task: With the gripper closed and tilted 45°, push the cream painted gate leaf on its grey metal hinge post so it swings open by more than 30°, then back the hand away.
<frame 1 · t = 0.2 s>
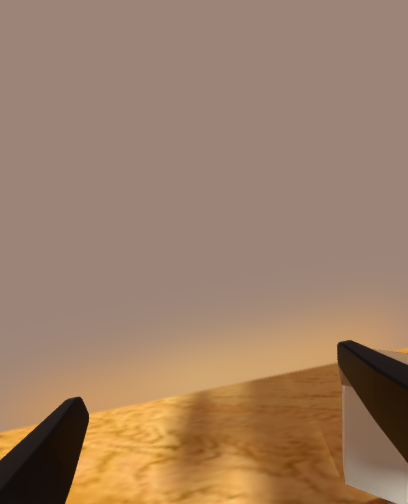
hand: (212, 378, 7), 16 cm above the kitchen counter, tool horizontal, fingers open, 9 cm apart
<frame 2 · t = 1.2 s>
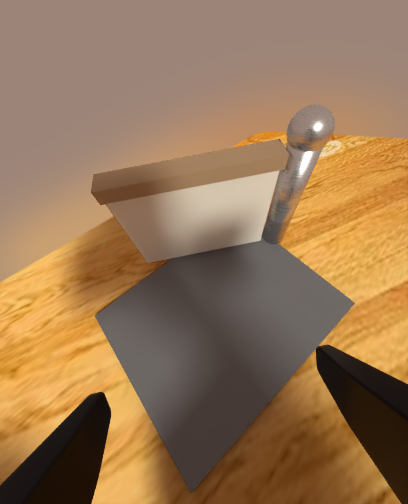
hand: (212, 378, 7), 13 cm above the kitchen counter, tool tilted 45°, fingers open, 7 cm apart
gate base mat: (220, 310, 21), on the kitchen counter
gate leaf: (197, 216, 19), point 6 cm above the kitchen counter, hinge at 0.0°
gate post: (271, 237, 24), on the kitchen counter
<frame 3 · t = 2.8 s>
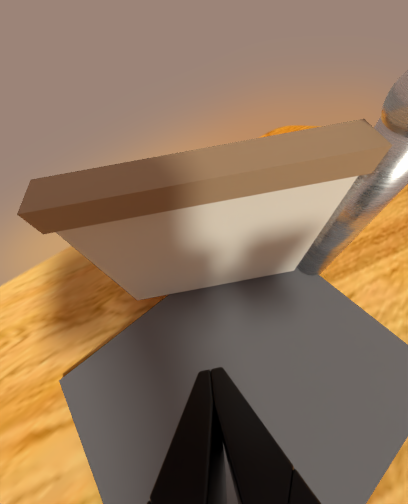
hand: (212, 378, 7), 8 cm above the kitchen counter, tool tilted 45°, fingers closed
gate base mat: (240, 377, 14), on the kitchen counter
gate leaf: (210, 242, 12), point 6 cm above the kitchen counter, hinge at 0.0°
gate post: (307, 264, 18), on the kitchen counter
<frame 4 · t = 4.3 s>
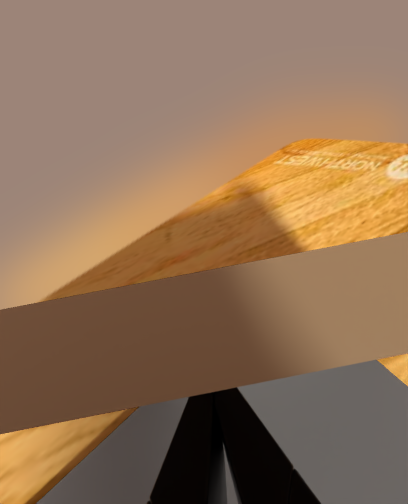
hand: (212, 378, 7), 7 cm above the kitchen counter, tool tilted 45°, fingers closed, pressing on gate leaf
gate leaf: (230, 349, 8), point 6 cm above the kitchen counter, hinge at -0.6°, touching gripper
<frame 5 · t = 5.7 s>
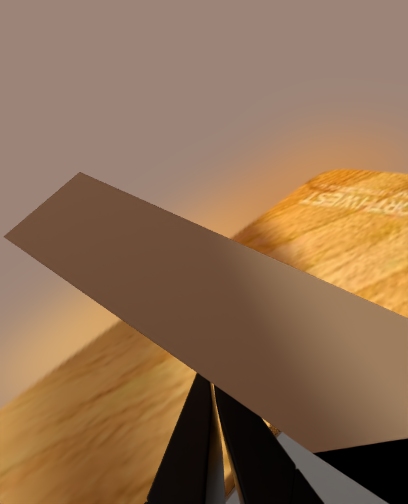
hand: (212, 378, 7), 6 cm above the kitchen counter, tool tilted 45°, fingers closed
gate leaf: (299, 389, 7), point 6 cm above the kitchen counter, hinge at -41.5°, touching gripper
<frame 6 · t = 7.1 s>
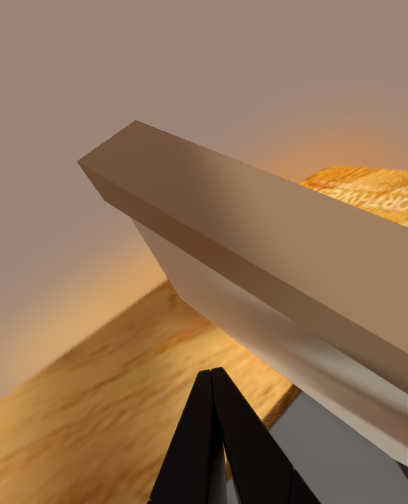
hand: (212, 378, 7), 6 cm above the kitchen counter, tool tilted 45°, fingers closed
gate leaf: (304, 346, 7), point 6 cm above the kitchen counter, hinge at -47.0°
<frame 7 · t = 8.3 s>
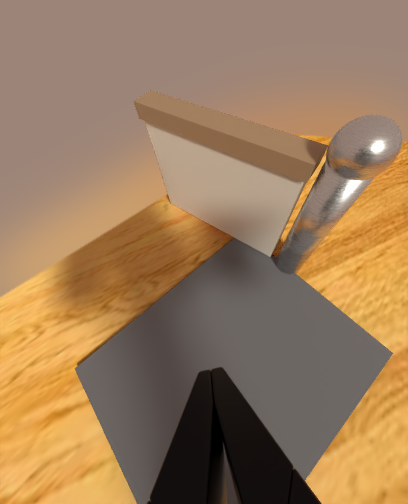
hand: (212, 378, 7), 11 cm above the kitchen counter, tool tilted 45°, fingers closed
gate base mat: (228, 361, 17), on the kitchen counter
gate leaf: (217, 185, 18), point 6 cm above the kitchen counter, hinge at -47.0°
gate post: (286, 264, 21), on the kitchen counter
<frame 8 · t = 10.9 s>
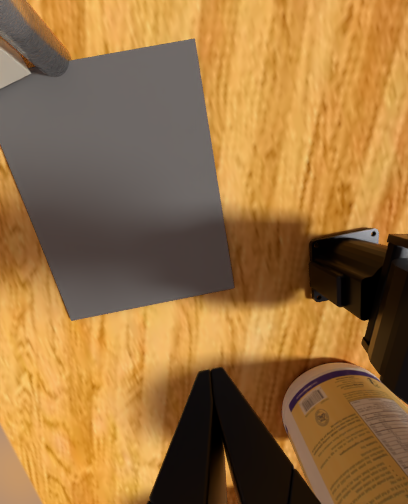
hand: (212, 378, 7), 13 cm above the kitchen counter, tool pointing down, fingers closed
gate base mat: (125, 199, 18), on the kitchen counter
supplement tub: (325, 397, 25), on the kitchen counter
gate post: (54, 60, 15), on the kitchen counter
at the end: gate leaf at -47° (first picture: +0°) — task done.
